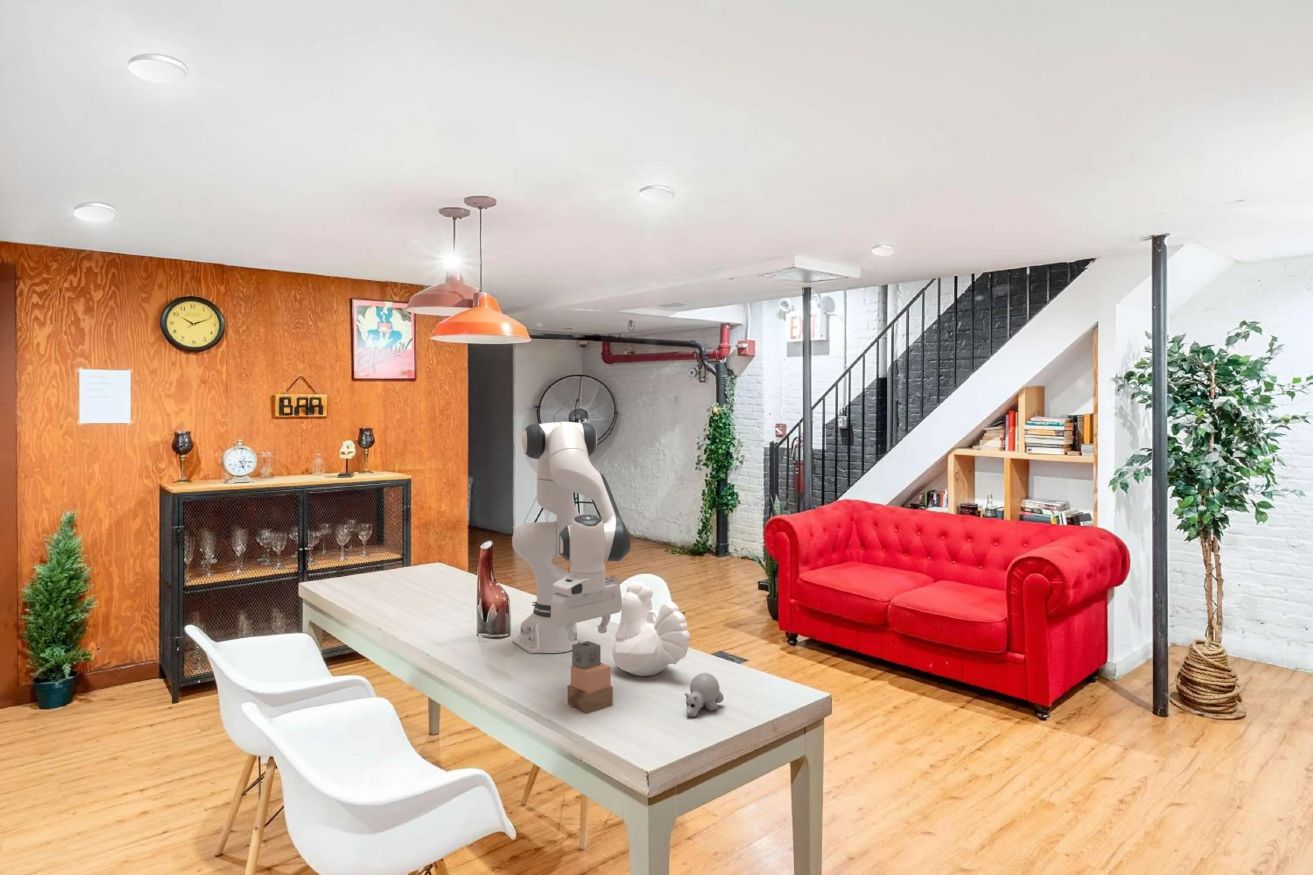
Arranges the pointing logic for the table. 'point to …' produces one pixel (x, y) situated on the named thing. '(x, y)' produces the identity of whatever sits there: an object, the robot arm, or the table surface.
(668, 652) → the decorative rooster
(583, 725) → the table surface
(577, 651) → the dice cube
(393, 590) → the table surface
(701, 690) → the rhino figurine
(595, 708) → the walnut base block
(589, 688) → the terracotta top block
